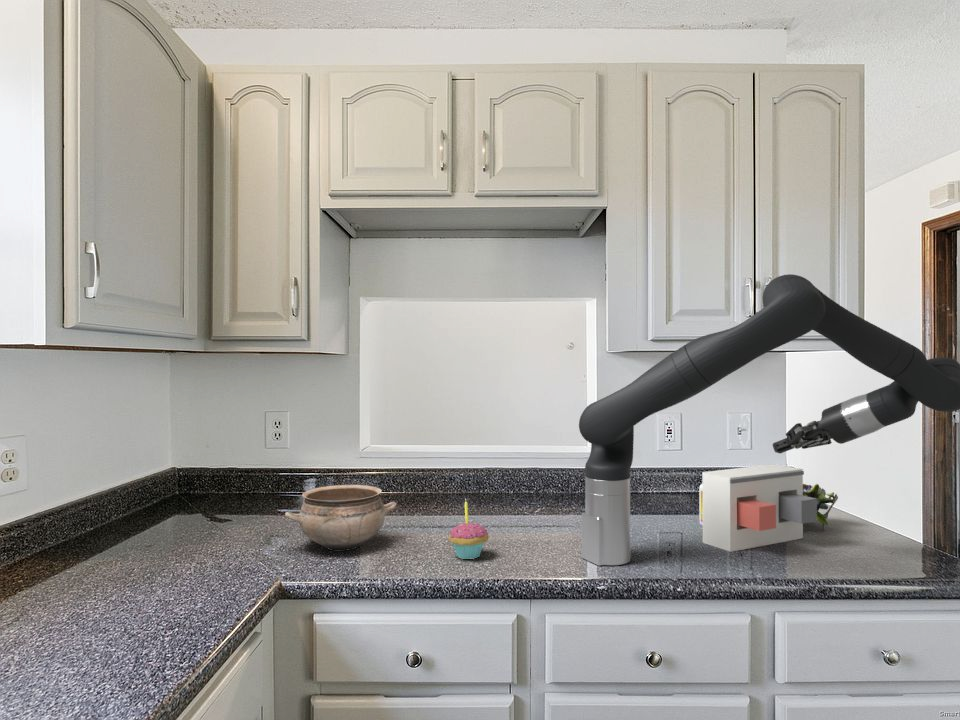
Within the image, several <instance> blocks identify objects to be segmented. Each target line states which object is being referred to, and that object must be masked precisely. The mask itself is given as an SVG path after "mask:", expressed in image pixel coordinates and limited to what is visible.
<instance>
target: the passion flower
mask: <svg viewBox="0 0 960 720" xmlns="http://www.w3.org/2000/svg"><path fill="white" fill-rule="evenodd" d="M803 496H807V497H812V498H816V499H817V521H818V522H819V523H822V532H823V531H824V532H825V528H826V526H827V525H828V522H827V520H828V517H829V513H830V512H831V509H832V508H833V506H834V505H835V504H836V502H837V501H838V499H839V496H838V494H837V493H835V492H833V491H831V492H829V493H828V492H826V489H824V488H821V487H820V485H819V483H816V484H814V485H811V484H806V483H803ZM826 496H827V497H826ZM827 504H830V507H829V506H828V505H827ZM819 510H827V511H826V512H825V513H821V512H820V511H819Z"/></svg>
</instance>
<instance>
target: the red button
mask: <svg viewBox="0 0 960 720" xmlns="http://www.w3.org/2000/svg"><path fill="white" fill-rule="evenodd" d="M737 525H740V526H743V527H747V528H750V529H754V530H757V531H763V530H768V529H774V528H776V505H775V504H771V503H766V502H762V501H758V500H754V499H752V500H745V501H738V502H737Z"/></svg>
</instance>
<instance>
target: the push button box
mask: <svg viewBox="0 0 960 720" xmlns="http://www.w3.org/2000/svg"><path fill="white" fill-rule="evenodd" d="M804 475H805V471H804V469H803V468H797V467H792V466H787V465H781V464H775V463H772V464H771V463H770V464H763V465H754V466H744V467H736V468H728V469H718V470H717V469H716V470H708V471H702V481H701V482H702V483H703V526H702V544H705V545H709V546H712V547H715V548H717V549H720V550H723V551H727V552H729V553H730V552H731V553H733V552H736V551H743V550H746V549H754V548H757V547H758V548H759V547H765V546H769V545H773V544H779V543H785V542H791V541H795V540H796V541H797V540H801V539H804V523H803V524H801V523H797V522H793V521H789V520H785V519H781V518H779V496H780V495H787V494H798V495H802V496H803V484H804V483H803V482H804V479H803V478H804V477H803V476H804ZM752 499H754V500H758V501H762V502H766V503H771V504H775V505H776V528H774V529H768V530H763V531H757V530H754V529H750V528H747V527H743V526H740V525H737V502H738V501H745V500H752Z"/></svg>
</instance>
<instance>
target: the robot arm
mask: <svg viewBox="0 0 960 720" xmlns="http://www.w3.org/2000/svg"><path fill="white" fill-rule="evenodd" d="M762 305H763V308H762V309H760V310H759V311H758V312H757V313H755V314H753V315H752V316H750V317H749V318H748V319H746V320H744V321H742V322H741V323H739V324H738V325H735V326H733V327H731V328H728V329H727V328H726V329H725V330H724V329H723V330H721V331H717V332H713V333H709V334H706V335H703V336H700V337H697V338H695V339H693V340H691V341H689V342H687V343H686V344H684V345H683V346H681V347H680V348H678V349H676V350H675V351H673V352H672V353H670V354H669V355H667V356H666V357H664V358H663V359H661V360H660V361H659V362H657V363H656V364H654V365H653V366H652V367H650V368H648V370H647V371H645V372H643V373H642V374H641V375H639V377H637V378H636V379H634V380H633V381H632V382H631V383H629V384H627V385H626V386H624V387H622V388H620V389H619V390H617V391H615V392H612V393H611V394H609V395H607V396H605V397H603V398H601V399H599V400H596V401H594V402H591V403H590V404H589V405H587V406H586V407H585V408H584V409H583V411H582V413H581V414H580V418H579V419H578V420H579V421H578V428H579V429H578V430H579V433H580V435H581V437H582V438H583V439H584V440H585V441H586V442H588V443H589V444H590V446H591V447H590V453H589V457H588V459H587V460H586V463H585V466H584V474H585V475H584V476H585V477H584V478H585V479H584V482H585V485H584V486H585V487H584V490H585V492H584V493H585V495H584V497H585V500H584V501H585V503H584V505H585V506H584V507H585V509H584V510H585V511H584V512H582V513H580V514H581V518H580V519H581V522H580V523H581V530H580V531H581V558H582V559H583V560H586V561H588V562H590V563H592V564H595V565H597V566H619V565H626V564H628V563H630V562H631V469H632V464H633V461H634V460H633V459H634V435H635V434H634V432H635V431H634V430H635V427H634V426H636V425H638V423H640V422H642V421H643V420H644V419H647V418H648V417H649V416H651V415H654V414H656V413H658V412H661V411H663V410H666V409H668V408H671V407H673V406H675V405H678V404H680V403H682V402H685V401H687V400H688V399H691V398H693V397H694V396H696V395H698V394H700V393H701V392H703V391H704V390H706V389H708V388H710V387H711V386H713V385H715V384H716V383H718V382H720V381H721V380H722V379H725V378H726V377H727V376H729V375H731V374H732V373H734V372H736V371H737V370H739V369H741V368H743V367H744V366H746V365H747V364H749V363H750V362H753V361H754V360H756V359H757V358H759V357H761V356H763V355H765V354H767V353H768V352H771V351H773V350H775V349H777V348H779V347H781V346H783V345H786V344H788V343H790V342H793V341H794V340H796V339H798V338H800V337H803V336H804V335H806V334H808V333H810V332H811V331H814V332H816V333H818V334H820V335H821V336H823V337H825V338H826V339H828V340H829V341H831V342H832V343H833V344H835V345H837V346H838V347H839V348H841V350H843V351H844V352H846V353H847V354H849V356H851V357H853V359H855V360H857V361H858V362H860V364H863V365H864V366H866V367H868V369H869V368H870V369H871V370H874V371H875V372H877V373H878V374H880V375H882V376H884V377H886V378H888V379H890V380H893V381H892V382H891V383H889V384H888V385H885V386H882V387H880V388H876V389H875V390H872V391H870V392H867V393H864V394H860V395H857V396H854V397H852V398H849V399H846V400H845V401H842V402H840V403H838V404H835V405H832V406H829V407H827V408H824V409H823V410H822V412H821V419H820V420H812V421H810V422H808V423H807V424H806V425H802V423H801V422H798V423H795V424H794V425H793V426H792V427H791V428H790V429H789V430H788V431H787V432H786V433H785V436H786V438H782V439H780V440H777V441H775V442H773V443H772V448H773V450H774V452H775V453H777V454H783V453H785V452H788V451H791V450H793V449H798V450H799V449H803V450H805V449H810V448H815V447H821V446H822V447H823V446H826V445H831V444H832V443H833V442H832V440H833V441H834V442H836V443H838V444H839V445H842V444H845V443H848V442H851V441H853V440H857V439H859V438H862V437H864V436H867V435H870V434H872V433H875V432H878V431H879V430H881V429H883V428H885V427H888V426H891V425H894V424H896V423H899V422H901V421H905V420H906V419H909V418H912V416H913V415H914V414H915V412H916V410H917V409H916V408H917V405H918V403H920V404H922V405H923V406H925V407H927V408H929V409H932V410H934V411H937V412H944V413H949V412H950V413H951V412H956V411H959V410H960V363H959V362H958V361H957V360H955V359H954V358H952V357H951V358H950V357H946V356H944V357H943V356H941V357H940V356H939V357H933V358H932V357H931V358H930V359H927V357H926V356H925V354H924V353H923V351H922V350H921V349H919V348H918V347H916V346H915V345H913V344H911V343H909V342H908V341H906V340H904V339H902V338H901V337H898V336H896V335H895V334H892V333H891V332H889V331H887V330H885V329H883V328H881V327H879V326H877V325H875V324H873V323H871V322H869V321H868V320H866V319H864V318H862V317H861V316H858V315H857V314H855V313H853V312H851V311H850V310H848V309H847V308H845V307H843V306H842V305H840V304H839V303H837V302H836V301H835V300H833V299H832V298H830V297H829V296H827V294H826V293H823V292H822V291H821V290H820V289H818V287H816V286H815V285H814V284H813V283H812V282H811V281H810V280H809V279H807V278H806V277H803V276H801V275H798V274H790V273H789V274H783V275H779V276H777V277H775V278H772V280H771V281H769V282H768V283H767V285H766V286H765V287H764V290H763V292H762Z"/></svg>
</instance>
